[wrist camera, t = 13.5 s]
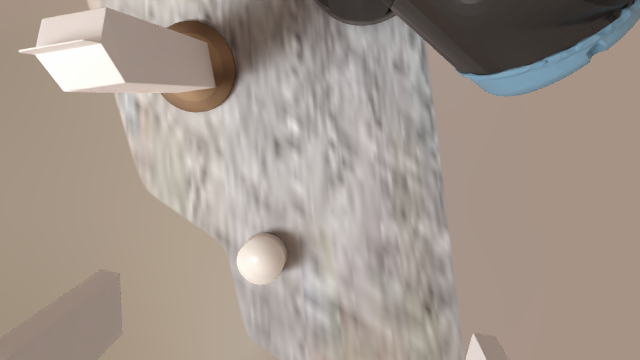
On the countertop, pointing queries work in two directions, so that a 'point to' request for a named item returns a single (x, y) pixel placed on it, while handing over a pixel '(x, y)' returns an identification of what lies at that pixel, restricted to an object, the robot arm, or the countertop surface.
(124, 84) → the milk
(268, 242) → the cream rounded dome part
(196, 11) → the countertop surface
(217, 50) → the disc
